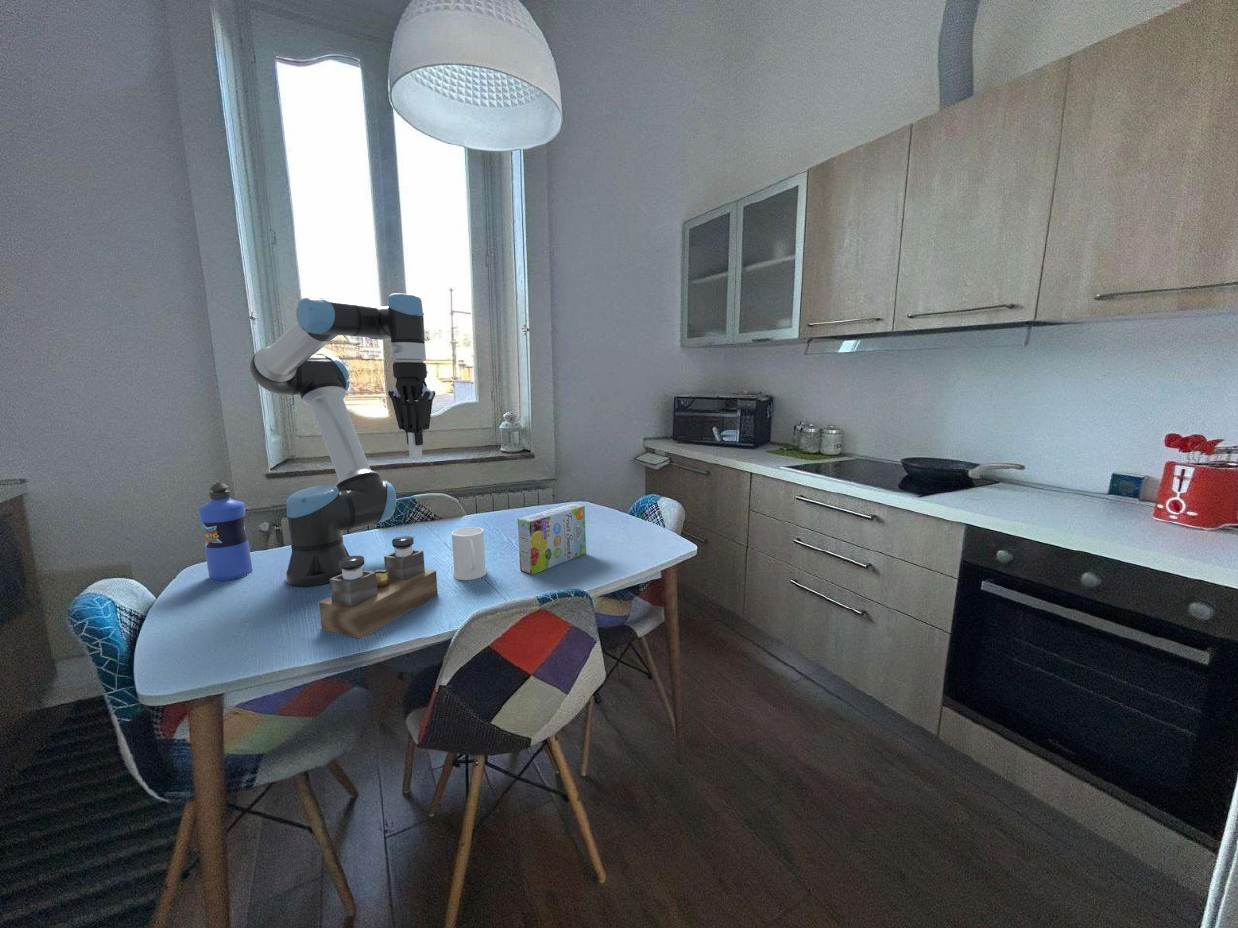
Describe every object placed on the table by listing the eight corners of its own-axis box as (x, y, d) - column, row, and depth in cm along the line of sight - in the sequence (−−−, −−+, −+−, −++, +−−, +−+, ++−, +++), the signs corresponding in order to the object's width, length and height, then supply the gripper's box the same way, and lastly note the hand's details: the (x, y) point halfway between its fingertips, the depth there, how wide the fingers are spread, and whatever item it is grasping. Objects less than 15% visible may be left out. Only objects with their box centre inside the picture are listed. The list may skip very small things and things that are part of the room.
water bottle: (224, 583, 123) (210, 488, 119) (199, 578, 126) (185, 485, 122) (261, 570, 132) (249, 481, 128) (237, 566, 135) (225, 478, 131)
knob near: (336, 596, 100) (333, 561, 99) (355, 588, 104) (352, 554, 103) (353, 600, 98) (350, 564, 97) (372, 591, 102) (369, 557, 101)
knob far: (390, 572, 113) (387, 541, 112) (404, 565, 117) (402, 535, 116) (405, 575, 111) (403, 543, 110) (420, 567, 115) (417, 537, 114)
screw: (371, 588, 106) (370, 573, 106) (378, 582, 109) (377, 568, 109) (385, 588, 106) (384, 573, 106) (391, 582, 109) (390, 568, 109)
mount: (321, 629, 100) (316, 579, 99) (402, 587, 121) (398, 545, 119) (361, 638, 97) (356, 586, 95) (437, 594, 117) (434, 550, 115)
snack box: (573, 550, 148) (572, 502, 146) (586, 554, 145) (586, 505, 142) (518, 570, 132) (516, 517, 130) (532, 575, 128) (530, 521, 126)
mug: (489, 582, 124) (487, 537, 122) (454, 587, 121) (451, 541, 119) (485, 566, 135) (483, 525, 133) (452, 570, 132) (450, 528, 130)
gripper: (376, 361, 116) (384, 458, 120) (418, 360, 111) (425, 462, 115) (401, 362, 123) (407, 454, 126) (441, 362, 118) (447, 457, 122)
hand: (416, 458), depth 121 cm, fingers closed
